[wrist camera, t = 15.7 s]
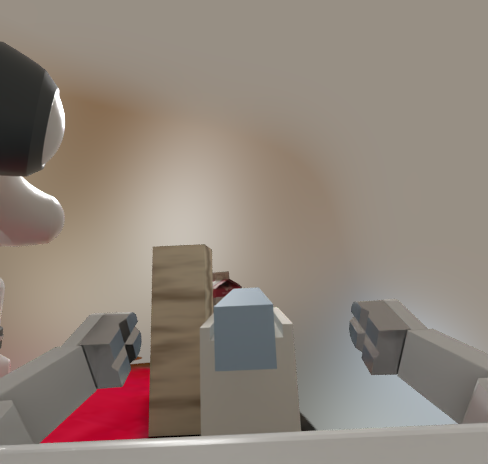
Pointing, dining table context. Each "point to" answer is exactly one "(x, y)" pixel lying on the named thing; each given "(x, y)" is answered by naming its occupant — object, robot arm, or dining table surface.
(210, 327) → the cream block
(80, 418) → the dining table surface
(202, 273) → the post
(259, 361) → the bar
